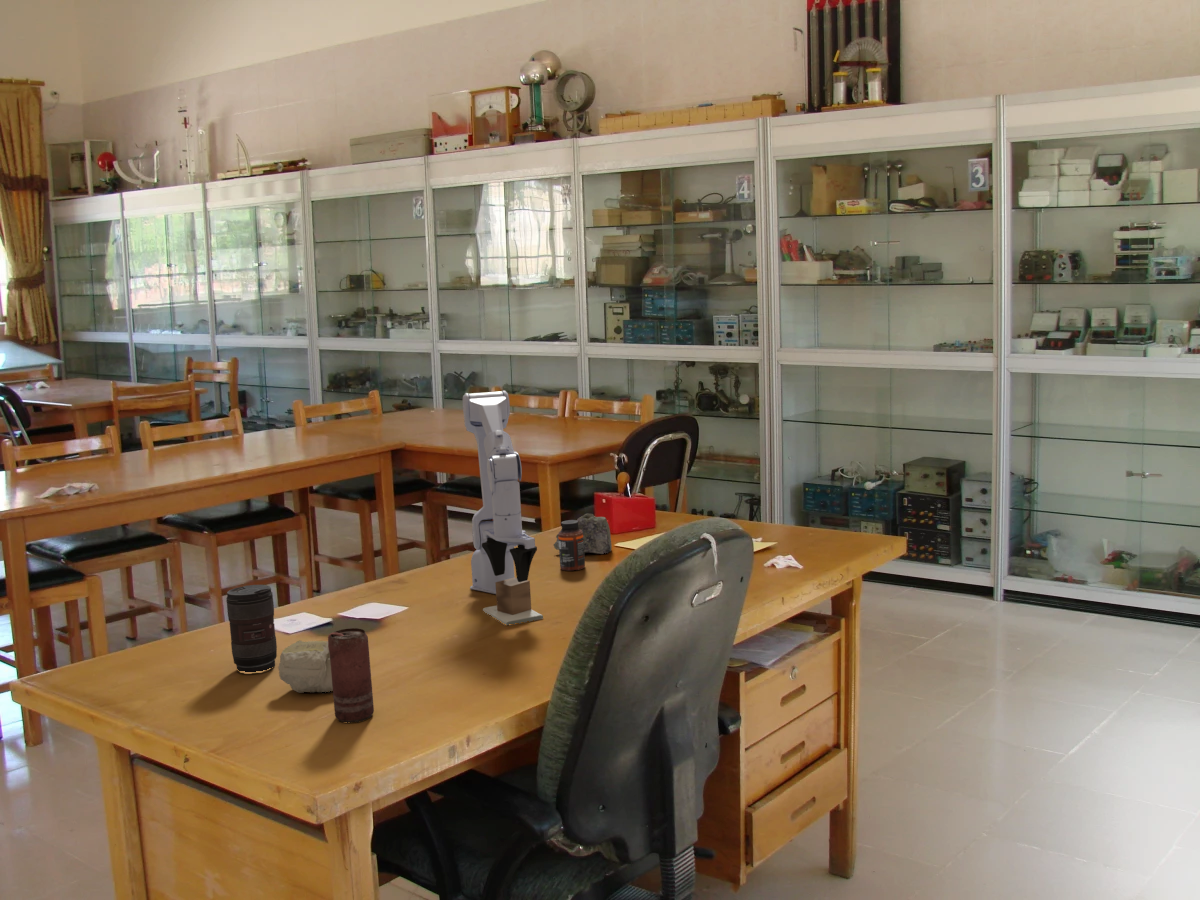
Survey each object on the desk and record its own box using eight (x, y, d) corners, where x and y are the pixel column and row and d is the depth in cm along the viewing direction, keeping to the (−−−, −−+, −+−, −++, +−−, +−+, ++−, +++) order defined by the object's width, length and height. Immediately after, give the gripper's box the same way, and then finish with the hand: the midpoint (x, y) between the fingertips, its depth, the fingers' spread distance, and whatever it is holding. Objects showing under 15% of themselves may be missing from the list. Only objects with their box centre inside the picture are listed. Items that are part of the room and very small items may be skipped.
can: (336, 711, 188) (329, 628, 186) (375, 708, 188) (369, 625, 186) (331, 725, 182) (323, 640, 180) (371, 722, 182) (364, 637, 180)
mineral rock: (551, 554, 287) (549, 515, 286) (578, 545, 296) (576, 507, 294) (593, 560, 279) (591, 519, 278) (619, 550, 288) (617, 511, 286)
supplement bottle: (586, 564, 275) (584, 518, 273) (583, 571, 269) (581, 524, 267) (561, 565, 275) (559, 519, 274) (558, 571, 270) (555, 524, 268)
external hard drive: (506, 629, 230) (482, 614, 241) (543, 622, 233) (518, 608, 244) (506, 621, 229) (482, 607, 240) (543, 614, 233) (518, 600, 244)
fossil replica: (355, 695, 196) (347, 681, 205) (354, 646, 195) (346, 635, 205) (281, 701, 192) (277, 687, 201) (281, 651, 191) (276, 640, 201)
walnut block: (497, 610, 238) (495, 582, 237) (516, 605, 241) (514, 577, 240) (512, 614, 234) (510, 586, 233) (531, 609, 237) (529, 580, 236)
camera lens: (288, 662, 214) (280, 584, 211) (262, 677, 206) (254, 596, 204) (251, 659, 216) (243, 582, 214) (224, 674, 209) (216, 594, 207)
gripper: (545, 513, 232) (548, 579, 234) (500, 505, 242) (504, 568, 244) (517, 520, 227) (521, 586, 229) (473, 511, 237) (477, 575, 239)
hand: (511, 577), depth 236 cm, fingers open, 7 cm apart
